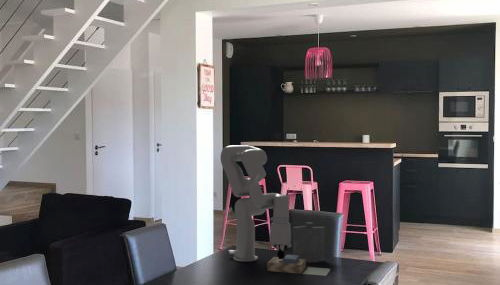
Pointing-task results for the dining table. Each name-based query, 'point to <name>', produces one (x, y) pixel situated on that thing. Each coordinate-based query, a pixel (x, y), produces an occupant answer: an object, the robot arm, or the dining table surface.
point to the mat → (316, 271)
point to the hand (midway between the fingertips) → (280, 258)
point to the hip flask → (309, 242)
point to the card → (291, 259)
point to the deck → (286, 266)
